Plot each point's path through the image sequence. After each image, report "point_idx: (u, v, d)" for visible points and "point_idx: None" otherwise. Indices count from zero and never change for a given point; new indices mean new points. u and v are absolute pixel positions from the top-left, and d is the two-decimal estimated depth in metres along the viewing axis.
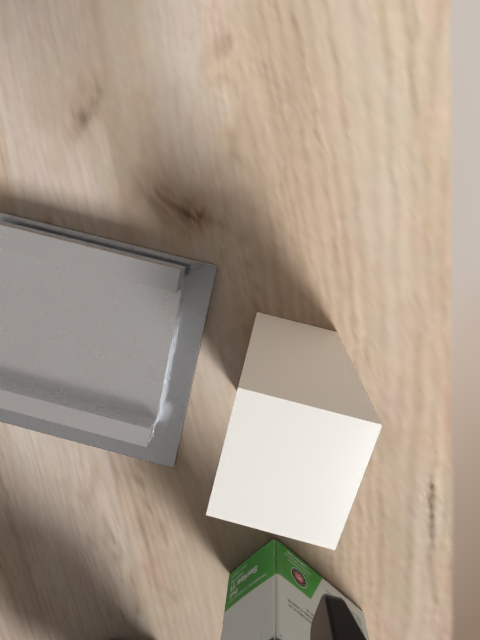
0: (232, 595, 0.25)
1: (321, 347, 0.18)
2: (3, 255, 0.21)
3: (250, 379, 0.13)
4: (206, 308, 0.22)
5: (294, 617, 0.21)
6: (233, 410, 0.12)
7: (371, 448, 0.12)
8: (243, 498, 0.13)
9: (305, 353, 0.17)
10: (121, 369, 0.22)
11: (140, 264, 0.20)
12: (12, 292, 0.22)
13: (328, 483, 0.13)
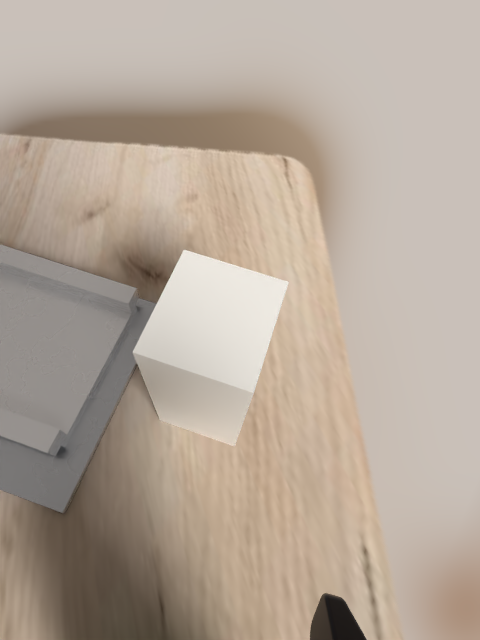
0: None
1: None
2: None
3: None
4: None
5: None
6: (177, 265, 0.16)
7: (281, 298, 0.16)
8: (172, 336, 0.15)
9: None
10: (49, 378, 0.23)
11: (105, 281, 0.24)
12: None
13: (248, 325, 0.15)
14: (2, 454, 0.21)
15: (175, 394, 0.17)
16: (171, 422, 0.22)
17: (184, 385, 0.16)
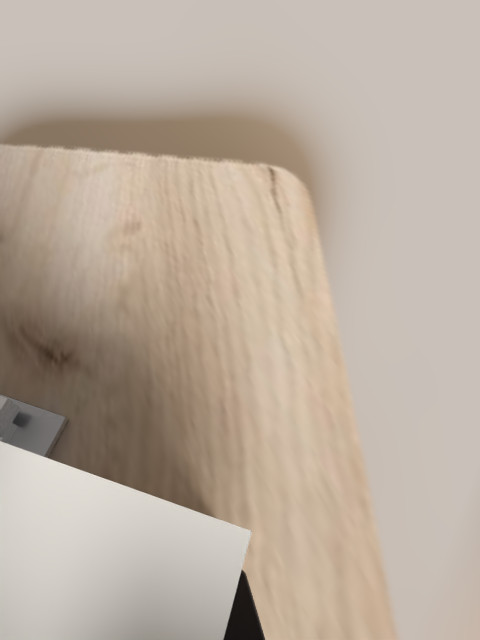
0: None
1: None
2: None
3: None
4: None
5: None
6: None
7: (229, 598, 0.05)
8: None
9: None
10: None
11: None
12: None
13: None
14: None
15: None
16: None
17: None
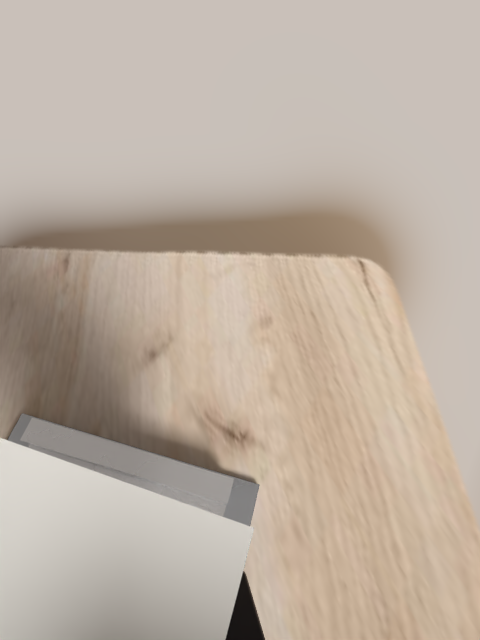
0: None
1: None
2: None
3: None
4: None
5: None
6: None
7: (232, 594, 0.05)
8: None
9: None
10: None
11: (194, 471, 0.20)
12: None
13: None
14: None
15: None
16: None
17: None
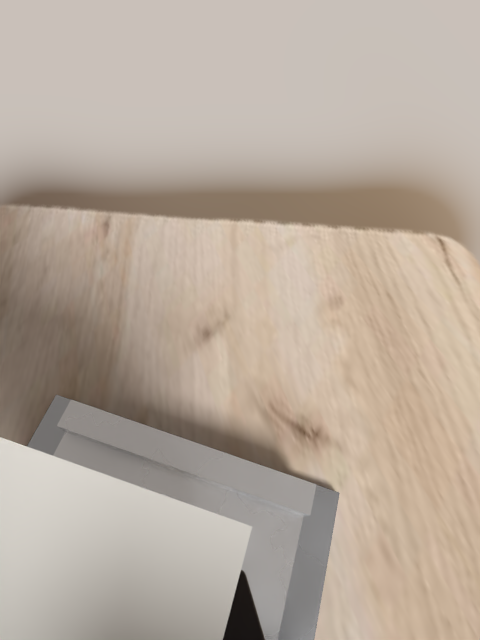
0: None
1: None
2: (78, 453, 0.17)
3: None
4: (328, 551, 0.17)
5: None
6: None
7: (230, 593, 0.05)
8: None
9: None
10: None
11: (268, 473, 0.16)
12: None
13: None
14: None
15: None
16: None
17: None
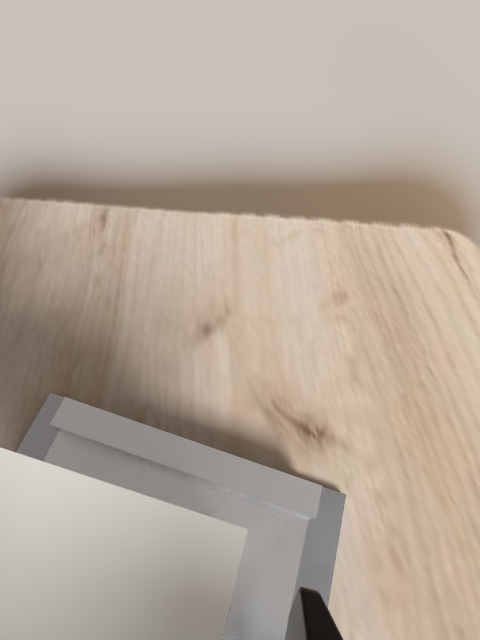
0: None
1: None
2: (73, 453, 0.16)
3: None
4: (334, 555, 0.16)
5: None
6: None
7: (229, 587, 0.06)
8: None
9: None
10: None
11: (271, 474, 0.15)
12: None
13: None
14: None
15: None
16: None
17: None
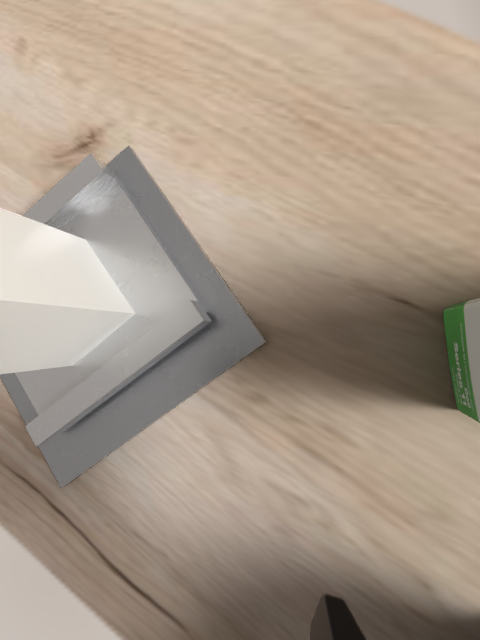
0: (468, 400, 0.15)
1: None
2: None
3: None
4: (150, 179, 0.21)
5: None
6: None
7: None
8: None
9: None
10: (134, 291, 0.20)
11: (65, 182, 0.20)
12: None
13: None
14: (179, 366, 0.20)
15: None
16: (76, 357, 0.20)
17: None
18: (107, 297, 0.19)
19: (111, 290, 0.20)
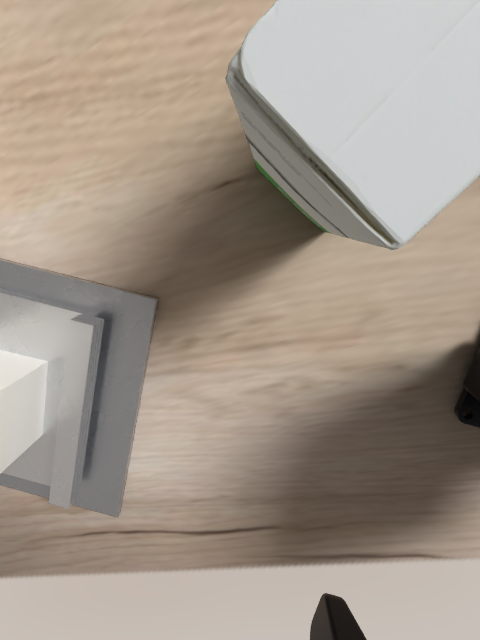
0: (315, 222, 0.17)
1: None
2: None
3: None
4: None
5: None
6: None
7: None
8: None
9: None
10: (31, 346, 0.21)
11: None
12: None
13: None
14: (115, 369, 0.21)
15: None
16: (37, 428, 0.21)
17: None
18: (11, 370, 0.19)
19: (12, 361, 0.20)
